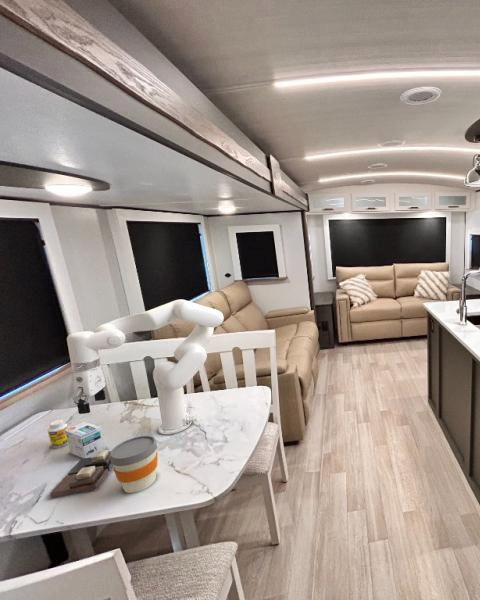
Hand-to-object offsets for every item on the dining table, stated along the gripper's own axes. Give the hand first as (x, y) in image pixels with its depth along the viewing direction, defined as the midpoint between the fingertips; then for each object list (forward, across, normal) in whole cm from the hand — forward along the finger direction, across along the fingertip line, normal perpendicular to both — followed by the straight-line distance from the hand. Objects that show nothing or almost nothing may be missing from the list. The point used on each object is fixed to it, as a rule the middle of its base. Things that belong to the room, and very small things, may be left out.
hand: (92, 406), depth 120 cm
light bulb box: (+23, +6, +8) cm, 25 cm away
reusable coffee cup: (+23, -19, -20) cm, 36 cm away
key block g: (+23, -14, -1) cm, 27 cm away
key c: (+19, -5, -3) cm, 20 cm away
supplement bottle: (+23, +15, +21) cm, 34 cm away
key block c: (+23, -6, -1) cm, 23 cm away
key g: (+19, -14, -3) cm, 24 cm away
